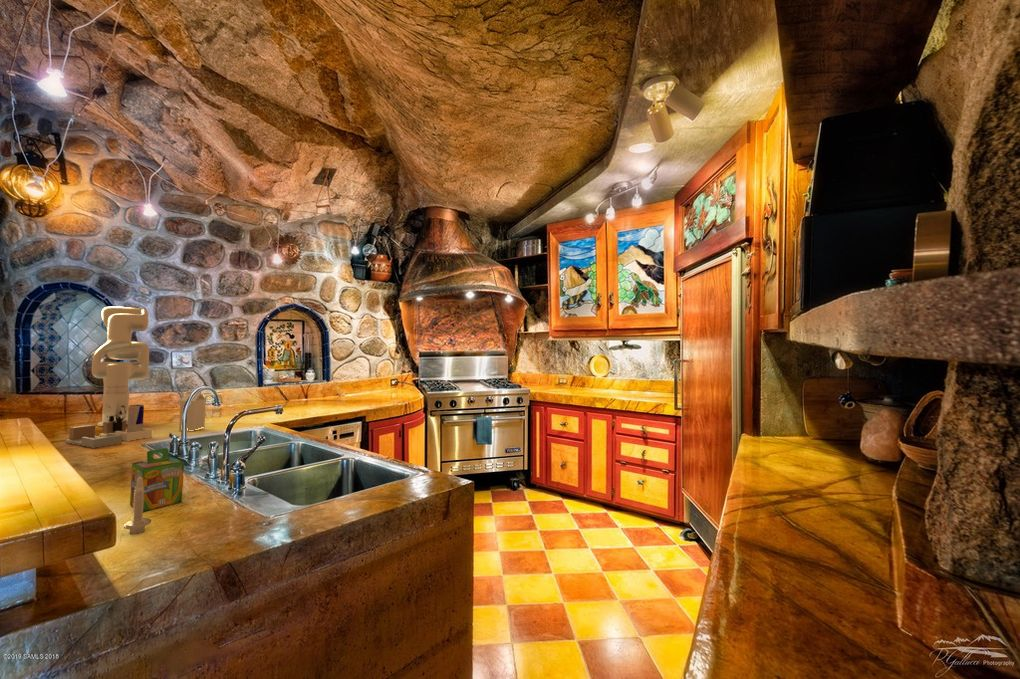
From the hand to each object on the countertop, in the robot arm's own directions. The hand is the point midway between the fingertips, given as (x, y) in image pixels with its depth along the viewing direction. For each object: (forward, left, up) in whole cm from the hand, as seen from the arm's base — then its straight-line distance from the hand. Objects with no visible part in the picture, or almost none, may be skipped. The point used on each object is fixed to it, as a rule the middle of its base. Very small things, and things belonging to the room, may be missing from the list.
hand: (114, 430), depth 187 cm
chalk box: (+110, +17, -3) cm, 111 cm away
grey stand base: (+15, -5, -2) cm, 16 cm away
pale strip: (+7, +4, -2) cm, 9 cm away
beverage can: (+13, +7, -2) cm, 15 cm away
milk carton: (+4, +28, -2) cm, 28 cm away
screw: (+129, +14, -2) cm, 130 cm away
